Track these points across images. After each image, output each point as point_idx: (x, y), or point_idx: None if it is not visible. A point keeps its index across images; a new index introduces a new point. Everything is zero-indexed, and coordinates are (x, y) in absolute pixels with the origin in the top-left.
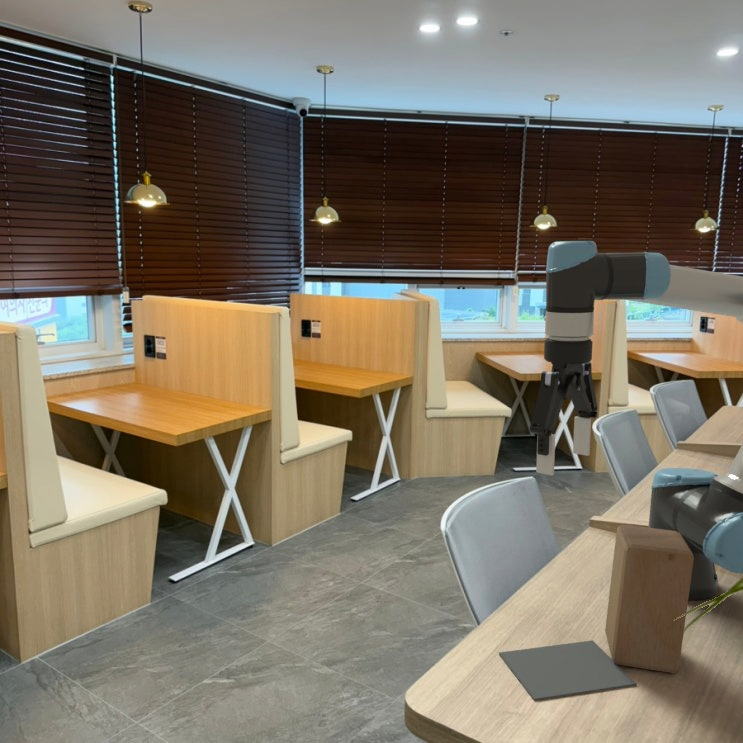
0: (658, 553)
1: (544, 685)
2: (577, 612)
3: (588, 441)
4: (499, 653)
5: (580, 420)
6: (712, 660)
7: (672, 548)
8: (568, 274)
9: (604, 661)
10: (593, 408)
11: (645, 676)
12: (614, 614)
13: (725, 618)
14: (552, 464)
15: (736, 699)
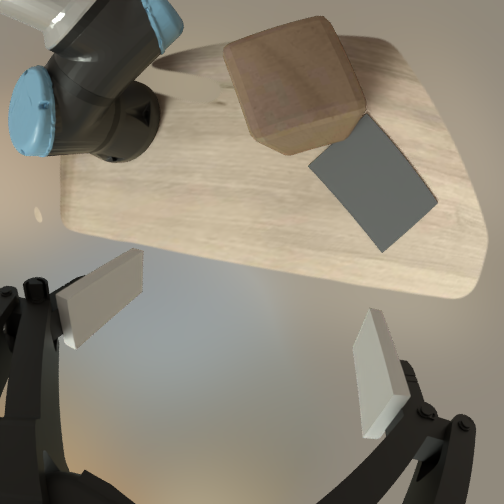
0: (348, 60)
1: (415, 197)
2: (249, 195)
3: (117, 266)
4: (383, 251)
5: (77, 325)
6: None
7: (327, 39)
8: None
9: (344, 147)
10: (13, 302)
11: None
12: (334, 137)
13: (177, 60)
14: (385, 328)
15: None
